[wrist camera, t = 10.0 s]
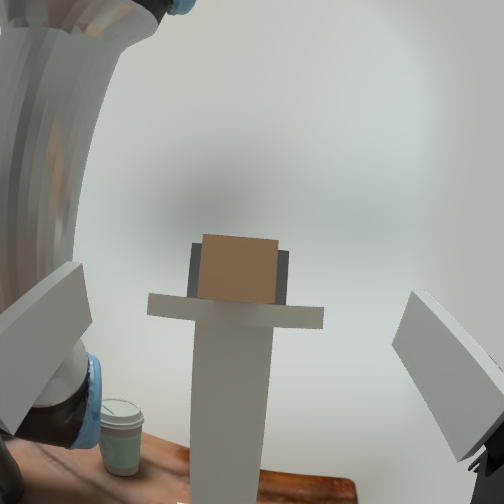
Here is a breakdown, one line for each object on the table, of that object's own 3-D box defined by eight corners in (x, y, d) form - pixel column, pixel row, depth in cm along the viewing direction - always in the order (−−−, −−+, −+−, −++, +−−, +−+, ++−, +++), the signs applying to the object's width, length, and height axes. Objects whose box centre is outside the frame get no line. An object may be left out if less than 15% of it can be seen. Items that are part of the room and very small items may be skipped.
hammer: (335, 306, 11) (337, 200, 12) (136, 290, 11) (152, 184, 12) (274, 305, 30) (277, 262, 31) (198, 299, 29) (201, 256, 30)
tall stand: (278, 573, 14) (324, 307, 19) (161, 565, 13) (148, 292, 19) (267, 515, 25) (291, 306, 31) (177, 509, 25) (181, 297, 30)
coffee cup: (98, 452, 35) (92, 394, 37) (144, 456, 38) (142, 399, 40) (95, 478, 27) (86, 414, 29) (149, 482, 30) (146, 420, 32)
